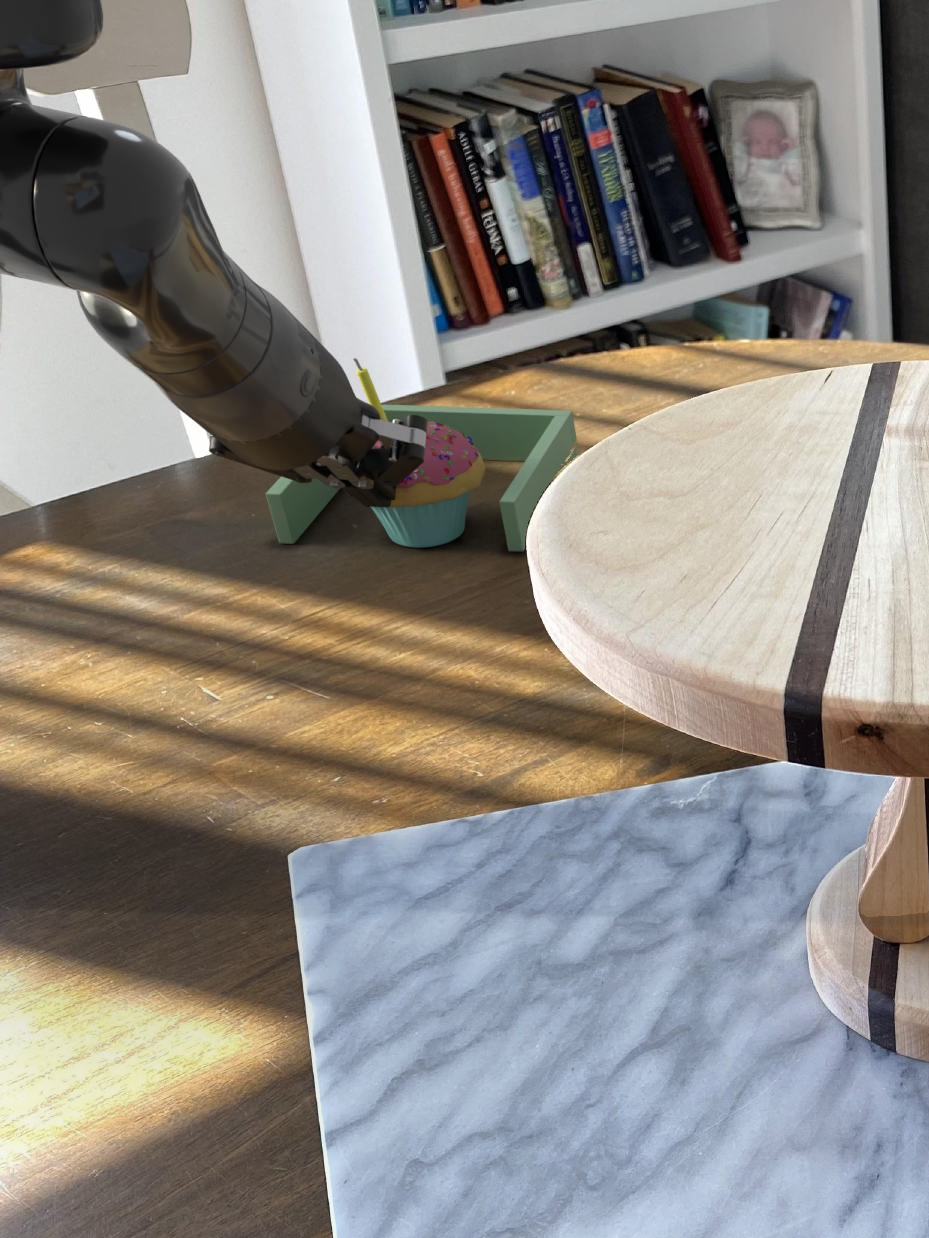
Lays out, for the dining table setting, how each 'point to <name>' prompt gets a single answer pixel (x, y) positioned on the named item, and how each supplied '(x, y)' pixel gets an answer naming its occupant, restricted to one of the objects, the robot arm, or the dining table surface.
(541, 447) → the corral
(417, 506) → the cupcake
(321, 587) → the dining table surface
